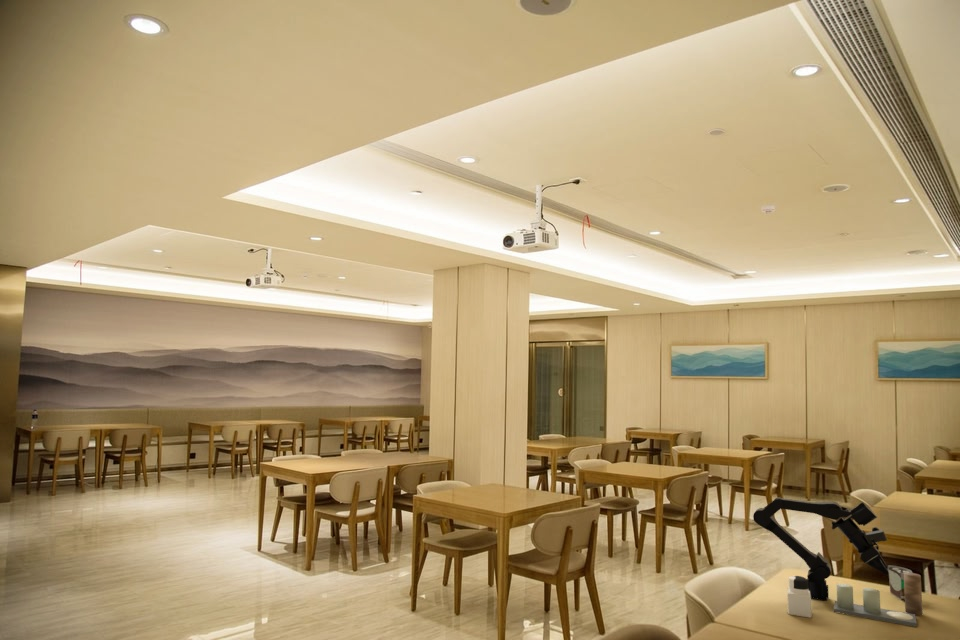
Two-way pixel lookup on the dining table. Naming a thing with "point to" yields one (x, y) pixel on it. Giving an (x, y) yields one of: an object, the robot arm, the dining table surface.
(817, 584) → the robot arm
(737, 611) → the dining table surface
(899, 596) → the food container
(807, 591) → the medicine bottle
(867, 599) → the sage posts
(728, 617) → the dining table surface
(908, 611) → the walnut post
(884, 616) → the slate board
